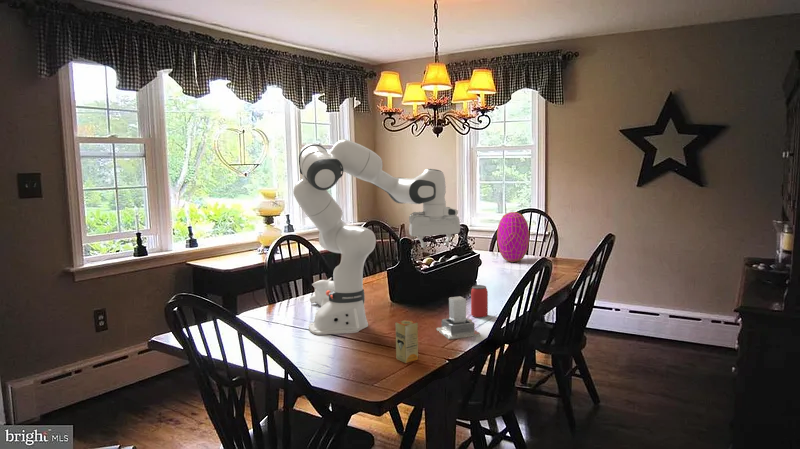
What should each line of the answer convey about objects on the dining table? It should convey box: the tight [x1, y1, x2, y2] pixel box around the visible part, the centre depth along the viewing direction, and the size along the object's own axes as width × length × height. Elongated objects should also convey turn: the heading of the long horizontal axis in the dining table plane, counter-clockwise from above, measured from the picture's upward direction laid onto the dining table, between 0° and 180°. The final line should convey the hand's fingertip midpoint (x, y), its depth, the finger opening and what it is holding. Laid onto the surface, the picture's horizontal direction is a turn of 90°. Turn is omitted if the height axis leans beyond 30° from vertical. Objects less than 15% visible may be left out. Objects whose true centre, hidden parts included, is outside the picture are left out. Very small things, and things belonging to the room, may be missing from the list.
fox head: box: [309, 277, 334, 308], centre depth 247 cm, size 13×17×20 cm
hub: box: [436, 317, 481, 340], centre depth 205 cm, size 12×12×4 cm
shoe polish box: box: [395, 319, 419, 364], centre depth 179 cm, size 5×5×12 cm
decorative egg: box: [496, 211, 530, 263], centre depth 340 cm, size 19×19×30 cm
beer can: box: [470, 284, 489, 319], centre depth 226 cm, size 7×7×12 cm
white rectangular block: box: [448, 295, 467, 325], centre depth 205 cm, size 5×5×12 cm
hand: (435, 246), depth 220 cm, fingers open, 8 cm apart
